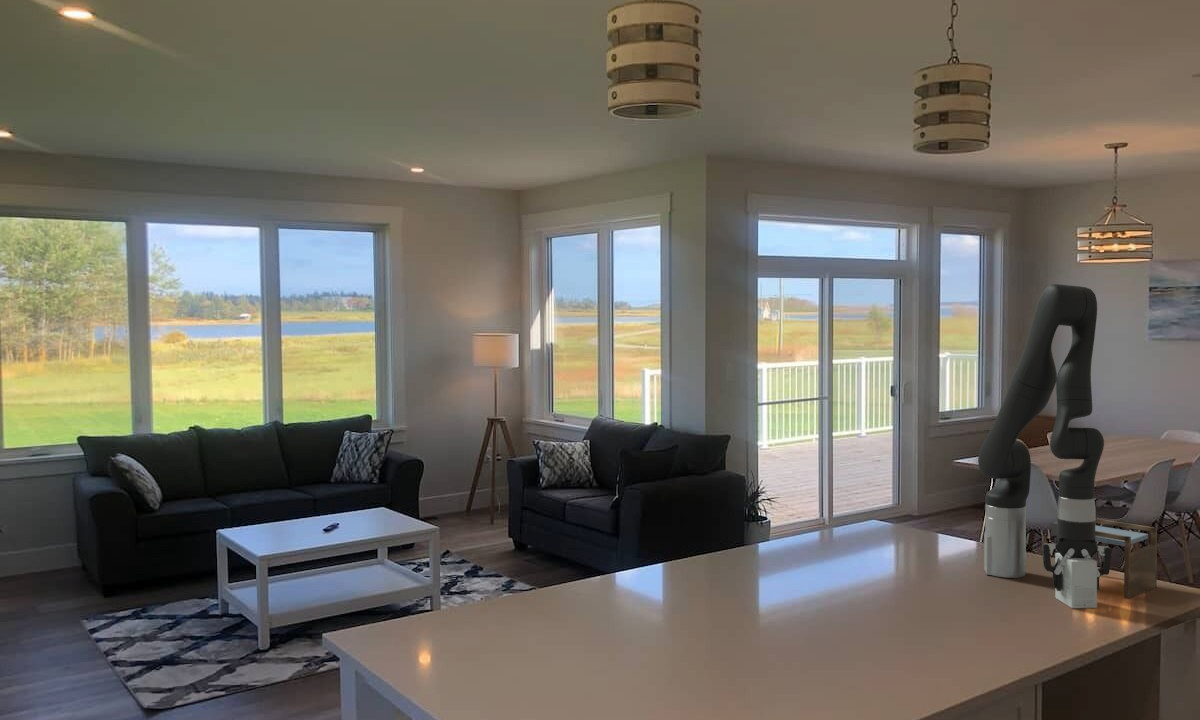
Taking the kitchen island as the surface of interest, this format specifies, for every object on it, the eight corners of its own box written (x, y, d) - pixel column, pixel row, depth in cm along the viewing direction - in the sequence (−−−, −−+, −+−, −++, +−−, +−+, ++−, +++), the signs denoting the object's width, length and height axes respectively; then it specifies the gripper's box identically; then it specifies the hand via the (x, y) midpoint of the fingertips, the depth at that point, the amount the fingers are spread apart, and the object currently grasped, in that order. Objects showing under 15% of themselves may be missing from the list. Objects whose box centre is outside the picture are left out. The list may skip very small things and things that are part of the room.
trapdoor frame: (1060, 584, 220) (1061, 526, 219) (1090, 573, 229) (1090, 517, 228) (1128, 598, 208) (1128, 537, 207) (1156, 586, 217) (1157, 527, 216)
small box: (1097, 608, 201) (1098, 561, 200) (1071, 609, 201) (1071, 561, 201) (1079, 597, 209) (1079, 552, 208) (1054, 598, 209) (1054, 552, 209)
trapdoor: (1046, 536, 224) (1046, 524, 223) (1070, 529, 231) (1071, 517, 231) (1125, 550, 209) (1125, 537, 209) (1148, 542, 216) (1148, 529, 216)
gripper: (1043, 519, 203) (1043, 593, 203) (1116, 522, 198) (1116, 598, 199) (1038, 512, 210) (1037, 584, 211) (1108, 515, 206) (1108, 589, 206)
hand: (1075, 591), depth 205 cm, fingers closed on small box, 6 cm apart
